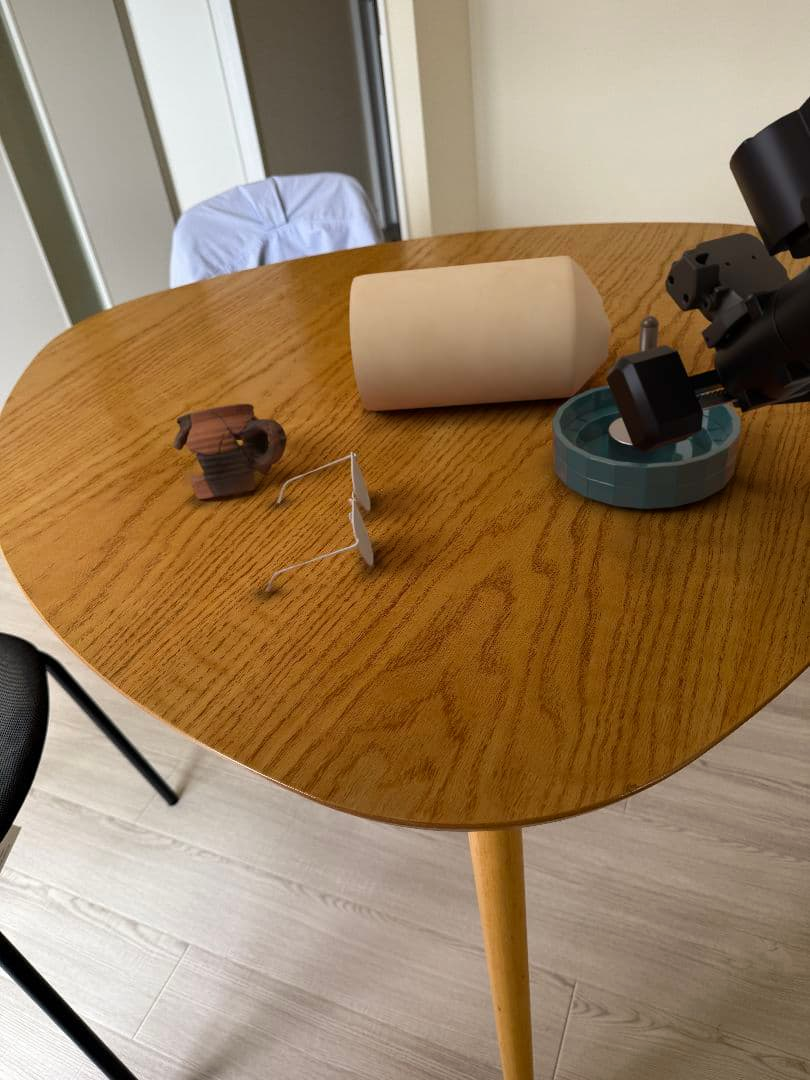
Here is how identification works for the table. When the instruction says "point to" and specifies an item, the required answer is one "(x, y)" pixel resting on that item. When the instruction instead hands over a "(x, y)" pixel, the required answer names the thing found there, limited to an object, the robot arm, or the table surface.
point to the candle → (476, 333)
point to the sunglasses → (354, 516)
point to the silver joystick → (617, 432)
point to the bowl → (638, 485)
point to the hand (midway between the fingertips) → (684, 416)
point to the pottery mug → (229, 448)
